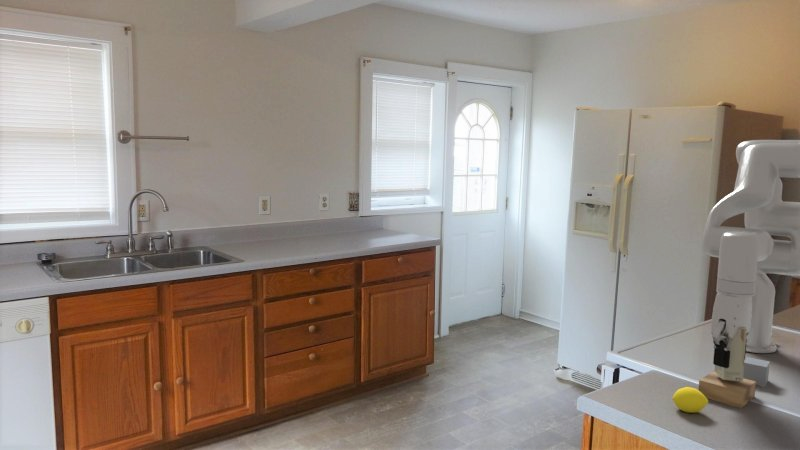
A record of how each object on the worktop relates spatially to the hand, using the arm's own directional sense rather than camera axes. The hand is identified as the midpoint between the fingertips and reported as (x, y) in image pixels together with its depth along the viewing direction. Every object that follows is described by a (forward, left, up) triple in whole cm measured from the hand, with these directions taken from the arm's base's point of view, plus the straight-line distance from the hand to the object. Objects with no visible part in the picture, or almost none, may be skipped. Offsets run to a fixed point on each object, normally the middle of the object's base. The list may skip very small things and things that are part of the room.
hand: (729, 362), depth 133 cm
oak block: (0, 0, -9) cm, 9 cm away
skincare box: (0, 0, -4) cm, 4 cm away
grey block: (-15, 0, -8) cm, 17 cm away
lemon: (+15, -1, -8) cm, 17 cm away
